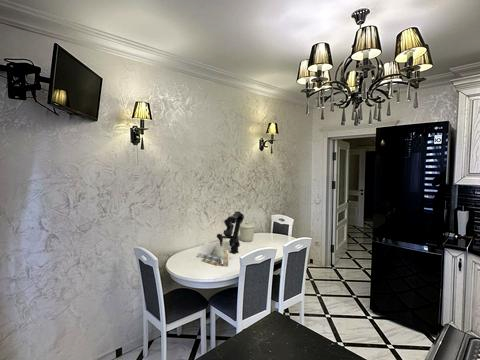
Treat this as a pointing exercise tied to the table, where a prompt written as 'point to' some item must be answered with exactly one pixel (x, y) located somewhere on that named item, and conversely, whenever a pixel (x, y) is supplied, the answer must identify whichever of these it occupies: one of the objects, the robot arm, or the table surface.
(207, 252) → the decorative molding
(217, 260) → the ridge rail
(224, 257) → the maple post
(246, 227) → the canister
